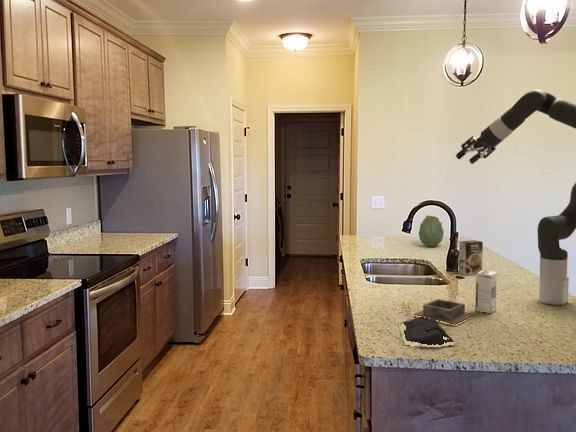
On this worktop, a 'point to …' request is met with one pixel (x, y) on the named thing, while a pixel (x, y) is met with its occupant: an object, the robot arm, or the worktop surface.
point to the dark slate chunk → (425, 331)
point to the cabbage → (431, 231)
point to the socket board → (445, 311)
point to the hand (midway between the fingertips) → (464, 159)
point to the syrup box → (486, 291)
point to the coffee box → (470, 257)
